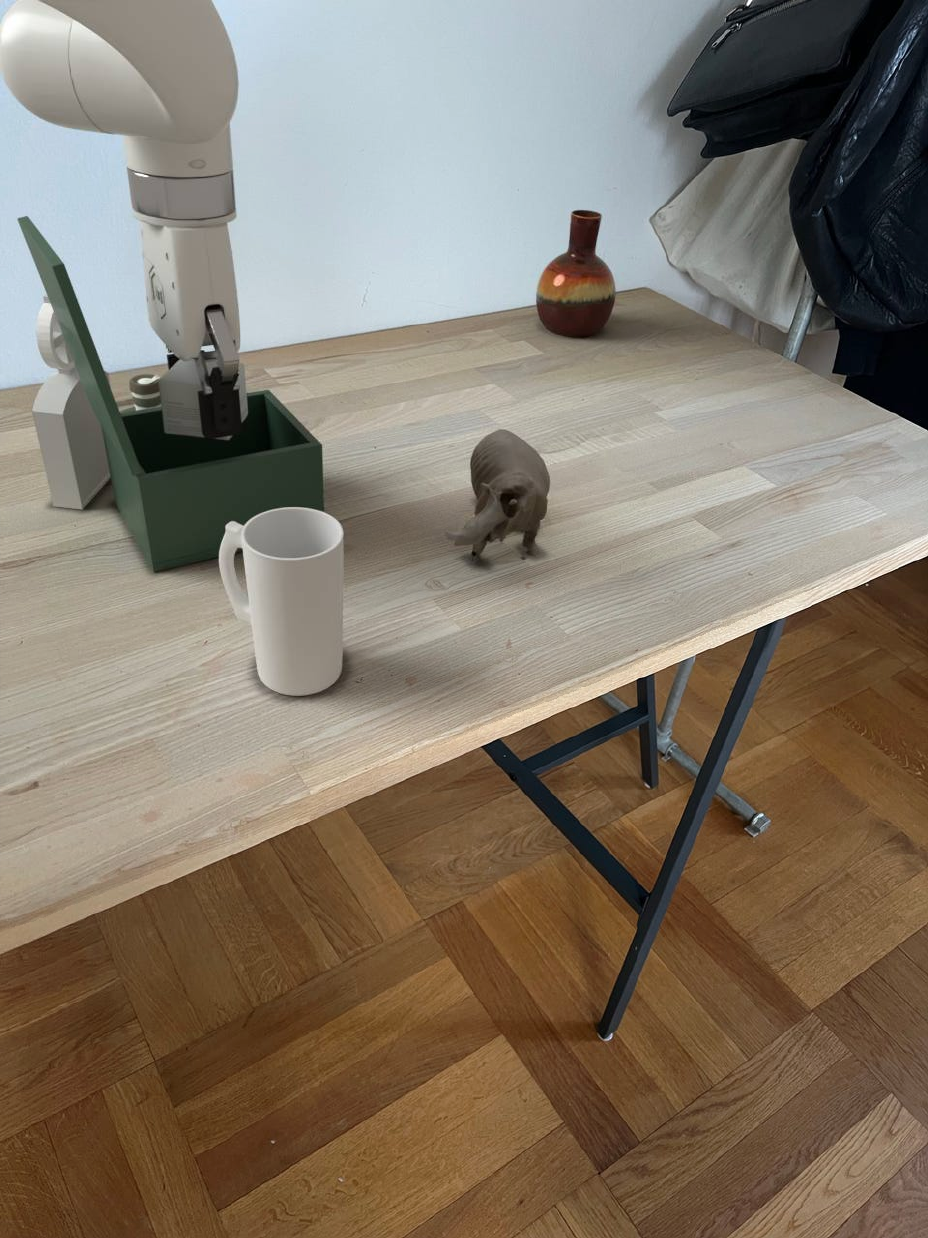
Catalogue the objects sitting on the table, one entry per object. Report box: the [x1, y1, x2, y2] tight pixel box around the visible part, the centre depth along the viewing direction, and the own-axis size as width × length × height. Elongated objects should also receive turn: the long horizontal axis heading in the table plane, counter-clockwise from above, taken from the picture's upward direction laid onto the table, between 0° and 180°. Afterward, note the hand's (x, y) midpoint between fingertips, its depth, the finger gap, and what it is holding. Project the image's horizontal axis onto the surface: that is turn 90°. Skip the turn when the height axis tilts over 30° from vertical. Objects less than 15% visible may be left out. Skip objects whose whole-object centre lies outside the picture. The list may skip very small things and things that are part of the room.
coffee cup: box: [119, 373, 162, 413], centre depth 99 cm, size 12×12×5 cm
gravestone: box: [31, 293, 112, 511], centre depth 84 cm, size 3×9×18 cm, turn 174°
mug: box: [218, 507, 345, 697], centre depth 66 cm, size 10×7×12 cm, turn 62°
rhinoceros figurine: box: [444, 428, 551, 567], centre depth 83 cm, size 8×14×15 cm
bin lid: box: [17, 215, 142, 476], centre depth 71 cm, size 16×13×1 cm
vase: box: [535, 209, 617, 338], centre depth 128 cm, size 11×11×15 cm
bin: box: [101, 389, 325, 573], centre depth 83 cm, size 16×13×9 cm
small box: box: [158, 358, 248, 440], centre depth 78 cm, size 6×6×5 cm
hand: (206, 414), depth 79 cm, fingers closed on small box, 7 cm apart
